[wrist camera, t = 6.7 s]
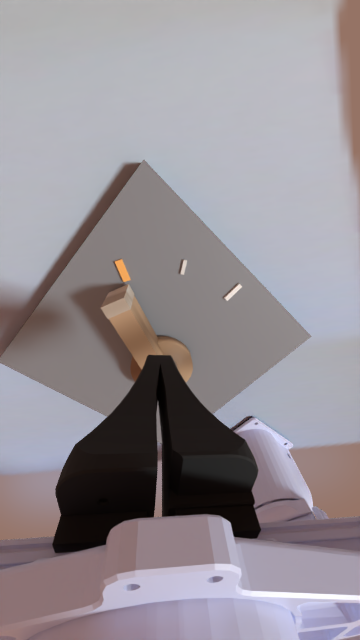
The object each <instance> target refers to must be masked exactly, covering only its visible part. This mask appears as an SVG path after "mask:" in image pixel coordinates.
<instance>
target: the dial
mask: <svg viewBox="0 0 360 640" xmlns="http://www.w3.org/2000/svg"><path fill="white" fill-rule="evenodd" d="M101 309H102V311H103V313H104V314H105V316H106V317H107V319H109V320H110V322H111V323H112V325H113V326H114V328H115V329H116V331H117V332H118V334H119V335H120V337H121V339H122V340H123V342H124V343H125V345H126V346H127V348H128V349H129V351H130V352H131V354H132V360H131V367H130V371H131V375H132V378H133V379H134V381H136V380H137V378H138V376H139V374H140V372H141V370H142V368H143V366H144V364H145V361H146V358H147V356H148V355H171V356H172V357H173V360H174V362H175V365H176V367H177V369H178V371H179V372H180V374H181V376H182V377H183V379H184V381H185V382H187V381H188V380H189V378H190V377H191V374H192V371H193V363H192V359H191V354H190V351H189V350H188V348H187V347H186V345H185V344H183V343H182V342H181V341H179V340H177V339H175V338H172V337H167V336H158V337H157V335H156V334H155V332H154V330H153V328H152V326H151V325H150V323H149V321H148V319H147V317H146V316H145V314H144V312H143V310H142V308H141V307H140V305H139V303H138V301H137V299H136V298H135V296H134V292H133V291H132V289H131V287H130V285H129V284H127V285H125V286H123V287H120V288H118V289H116V290H114V291H111V292H109V293H108V295H107V297H106V298H105V300H104V302H103V304H102V306H101Z"/></svg>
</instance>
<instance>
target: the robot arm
mask: <svg viewBox="0 0 360 640" xmlns="http://www.w3.org/2000/svg"><path fill="white" fill-rule="evenodd" d="M157 404H158V406H159V416H160V426H161V436H162V517H154V510H155V497H156V482H157V419H156V413H157ZM292 446H293V444H292V443H291V442H290V441H288V440H287V439H286V438H284V437H283V436H281V435H280V434H278V433H277V432H275V431H274V430H272V429H271V428H270V427H268V426H267V425H265V424H264V423H262V422H261V421H259V420H258V419H257V418H255V417H253V418H250V419H249V420H248V421H246V422H245V423H244V424H242V425H241V426H240V427H238V428H237V429H235V430H234V431H232V430H231V429H229V428H228V427H227V426H225V425H224V424H223V423H222V422H220V421H219V420H218V419H217V418H216V417H215V416H214V415H213V414H212V413H211V412H210V411H208V410H207V408H206V407H205V406H204V405H203V404H202V403H201V402H200V401H199V400H198V398H197V397H196V396H195V395H194V393H193V392H192V391H191V389H190V388H189V387H188V385H187V384H186V382H185V381H184V379H183V377H182V376H181V374H180V372H179V371H178V369H177V367H176V365H175V362H174V360H173V357H172V356H171V355H148V356H147V358H146V361H145V364H144V366H143V368H142V370H141V372H140V374H139V376H138V378H137V380H136V381H135V383H134V384H133V386H132V388H131V389H130V391H129V392H128V393H127V395H126V396H125V397H124V399H123V400H122V401H121V402H120V404H119V405H118V406H117V407H116V408H115V409H114V410H113V412H112V413H111V414H110V415H109V416H108V417H107V418H106V419H105V420H104V421H103V422H101V423H100V424H99V425H98V426H97V427H96V428H95V429H94V430H93V431H92V432H90V433H89V434H88V435H87V436H85V437H84V438H83V439H82V440H80V441H79V442H78V443H77V444H75V446H74V448H73V450H72V451H71V453H70V455H69V457H68V459H67V461H66V463H65V465H64V467H63V469H62V472H61V475H60V478H59V480H58V484H57V486H56V498H57V502H58V505H59V508H60V512H61V517H60V521H59V524H58V527H57V530H56V534H55V537H41V538H26V539H11V540H0V640H360V516H358V517H343V518H328V517H327V515H326V513H325V512H324V511H322V510H320V509H319V508H318V507H313V501H312V496H311V493H310V490H309V489H308V487H307V485H306V483H305V481H304V479H303V477H302V475H301V473H300V471H299V469H298V468H297V466H296V464H295V462H294V460H293V458H292V456H291V454H290V452H289V449H290V448H292ZM312 511H313V512H314V514H315V516H316V518H317V519H315V516H314V515H313V513H312Z"/></svg>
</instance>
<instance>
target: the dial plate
mask: <svg viewBox="0 0 360 640" xmlns="http://www.w3.org/2000/svg"><path fill="white" fill-rule="evenodd" d="M127 284H129V285H130V287H131V289H132V291H133V292H134V296H135V298H136V299H137V301H138V303H139V305H140V307H141V308H142V310H143V312H144V314H145V316H146V317H147V319H148V321H149V323H150V325H151V326H152V328H153V330H154V332H155V334H156V335H157V337H158V336H167V337H172V338H175V339H177V340H179V341H181V342H182V343H183V344H185V345H186V347H187V348H188V350H189V351H190V354H191V359H192V363H193V371H192V374H191V377H190V378H189V380H188V381H187V382H186V384H187V385H188V387H189V388H190V389H191V391H192V392H193V393H194V395H195V396H196V397H197V398H198V400H199V401H200V402H201V403H202V404H203V405H204V406H205V407H206V408H207V410H208V411H210V412H211V413H212V414H213V413H215V412H216V411H217V410H218V409H220V408H221V407H222V406H224V405H225V404H226V403H227V402H229V401H230V400H231V399H232V398H234V397H235V396H236V395H238V394H239V393H240V392H241V391H243V390H244V389H245V388H246V387H248V386H249V385H250V384H252V383H253V382H254V381H255V380H257V379H258V378H259V377H260V376H262V375H263V374H264V373H266V372H267V371H268V370H269V369H271V368H272V367H273V366H274V365H276V364H277V363H278V362H280V361H281V360H282V359H283V358H285V357H286V356H287V355H288V354H290V353H291V352H292V351H294V350H295V349H296V348H297V347H299V346H300V345H301V344H302V343H304V342H305V341H306V340H308V339H309V338H310V337H311V335H310V334H309V333H308V332H307V331H306V330H305V329H304V328H303V327H302V326H301V325H300V324H299V323H298V322H297V321H296V320H295V319H294V317H293V316H292V315H291V314H290V313H289V312H288V311H287V310H286V309H285V308H284V307H283V306H282V305H281V304H280V303H279V302H278V301H277V300H276V298H275V297H274V296H273V295H272V294H271V293H270V292H269V291H268V290H267V289H266V288H265V287H264V286H263V285H262V284H261V283H260V282H259V281H258V280H257V278H256V277H255V276H254V275H253V274H252V273H251V272H250V271H249V270H248V269H247V268H246V267H245V266H244V265H243V264H242V263H241V262H240V261H239V259H238V258H237V257H236V256H235V255H234V254H233V253H232V252H231V251H230V250H229V249H228V248H227V247H226V246H225V245H224V244H223V243H222V242H221V240H220V239H219V238H218V237H217V236H216V235H215V234H214V233H213V232H212V231H211V230H210V229H209V228H208V227H207V226H206V225H205V224H204V223H203V221H202V220H201V219H200V218H199V217H198V216H197V215H196V214H195V213H194V212H193V211H192V210H191V209H190V208H189V207H188V206H187V205H186V204H185V203H184V201H183V200H182V199H181V198H180V197H179V196H178V195H177V194H176V193H175V192H174V191H173V190H172V189H171V188H170V187H169V186H168V185H167V184H166V182H165V181H164V180H163V179H162V178H161V177H160V176H159V175H158V174H157V173H156V172H155V171H154V170H153V169H152V168H151V167H150V166H149V165H148V163H147V162H146V161H145V160H143V161H142V163H141V164H140V165H139V167H138V168H137V170H136V171H135V172H134V174H133V175H132V176H131V178H130V179H129V181H128V182H127V183H126V185H125V186H124V187H123V189H122V190H121V192H120V193H119V194H118V196H117V197H116V198H115V200H114V201H113V203H112V204H111V205H110V207H109V208H108V209H107V211H106V212H105V214H104V215H103V216H102V218H101V219H100V220H99V222H98V223H97V225H96V226H95V227H94V229H93V230H92V232H91V233H90V234H89V236H88V237H87V238H86V240H85V241H84V243H83V244H82V245H81V247H80V248H79V249H78V251H77V252H76V254H75V255H74V256H73V258H72V259H71V260H70V262H69V263H68V265H67V266H66V267H65V269H64V270H63V271H62V273H61V274H60V276H59V277H58V278H57V280H56V281H55V282H54V284H53V285H52V287H51V288H50V289H49V291H48V292H47V294H46V295H45V296H44V298H43V299H42V300H41V302H40V303H39V305H38V306H37V307H36V309H35V310H34V311H33V313H32V314H31V316H30V317H29V318H28V320H27V321H26V322H25V324H24V325H23V327H22V328H21V329H20V331H19V332H18V333H17V335H16V336H15V338H14V339H13V340H12V342H11V343H10V344H9V346H8V347H7V349H6V350H5V351H4V353H3V354H2V356H1V357H0V363H2V364H4V365H6V366H8V367H10V368H12V369H14V370H16V371H18V372H20V373H21V374H23V375H25V376H27V377H29V378H31V379H33V380H35V381H37V382H39V383H41V384H43V385H45V386H47V387H49V388H51V389H53V390H55V391H57V392H59V393H61V394H63V395H65V396H67V397H69V398H71V399H73V400H75V401H77V402H79V403H81V404H83V405H85V406H87V407H89V408H91V409H93V410H95V411H97V412H99V413H101V414H103V415H105V416H107V417H108V416H109V415H110V414H111V413H112V412H113V410H114V409H115V408H116V407H117V406H118V405H119V404H120V402H121V401H122V400H123V399H124V397H125V396H126V395H127V393H128V392H129V391H130V389H131V388H132V386H133V384H134V383H135V381H134V379H133V378H132V375H131V371H130V367H131V360H132V354H131V352H130V351H129V349H128V348H127V346H126V345H125V343H124V342H123V340H122V339H121V337H120V335H119V334H118V332H117V331H116V329H115V328H114V326H113V325H112V323H111V322H110V320H109V319H107V317H106V316H105V314H104V313H103V311H102V309H101V306H102V304H103V302H104V300H105V298H106V297H107V295H108V293H109V292H111V291H114V290H116V289H118V288H120V287H123V286H125V285H127ZM156 419H157V442H159V443H161V444H162V436H161V426H160V416H159V406H158V404H157V413H156Z"/></svg>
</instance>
